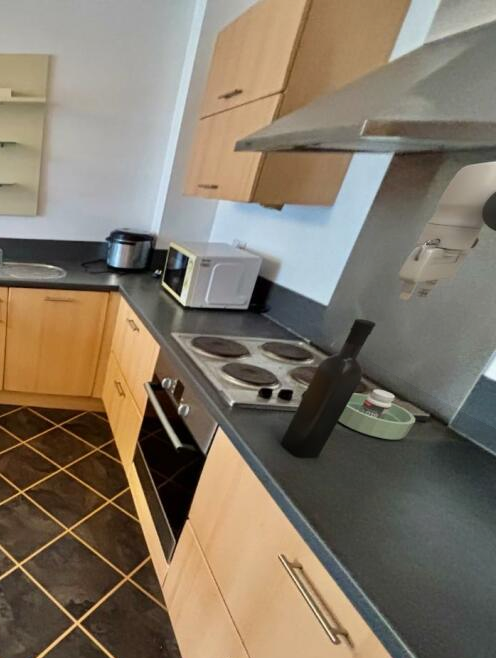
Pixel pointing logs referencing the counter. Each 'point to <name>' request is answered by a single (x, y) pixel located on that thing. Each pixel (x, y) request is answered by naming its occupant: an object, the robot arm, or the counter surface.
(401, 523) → the counter surface
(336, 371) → the wine bottle
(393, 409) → the bowl
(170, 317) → the counter surface
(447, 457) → the counter surface
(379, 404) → the pill bottle
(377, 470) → the counter surface
